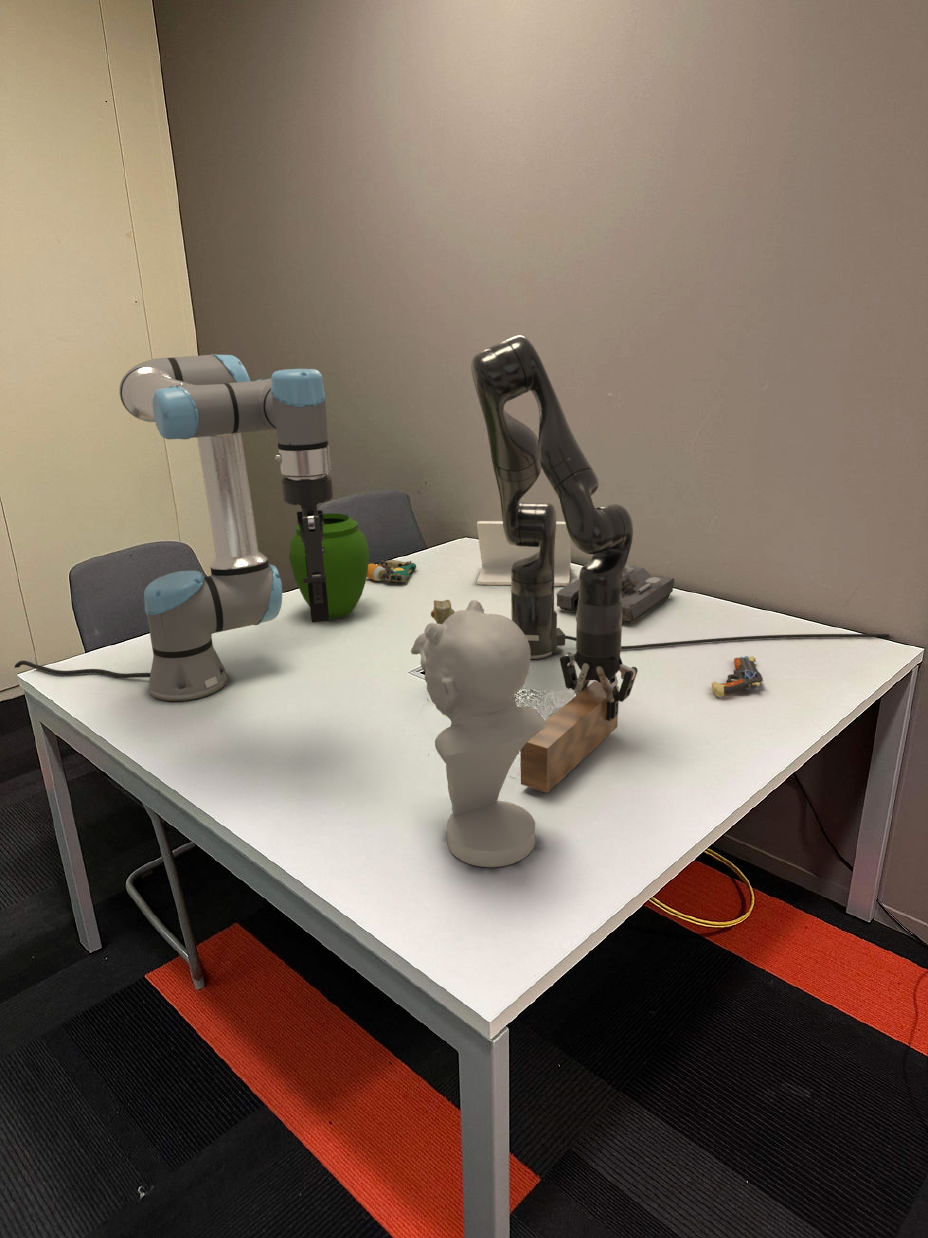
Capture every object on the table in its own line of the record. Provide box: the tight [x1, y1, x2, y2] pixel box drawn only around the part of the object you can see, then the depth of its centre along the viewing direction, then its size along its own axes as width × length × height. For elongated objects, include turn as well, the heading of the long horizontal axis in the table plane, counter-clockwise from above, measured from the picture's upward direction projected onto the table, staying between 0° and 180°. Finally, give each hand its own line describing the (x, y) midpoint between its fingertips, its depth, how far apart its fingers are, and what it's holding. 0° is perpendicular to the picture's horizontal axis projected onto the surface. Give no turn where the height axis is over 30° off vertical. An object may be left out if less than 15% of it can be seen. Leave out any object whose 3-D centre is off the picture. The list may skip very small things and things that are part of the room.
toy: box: [556, 562, 676, 624], centre depth 212 cm, size 25×20×15 cm
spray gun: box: [367, 559, 417, 583], centre depth 241 cm, size 4×17×15 cm
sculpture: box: [430, 599, 456, 624], centre depth 177 cm, size 6×7×15 cm
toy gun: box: [711, 655, 765, 698], centre depth 171 cm, size 3×19×10 cm
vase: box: [288, 512, 370, 620], centre depth 209 cm, size 20×20×24 cm
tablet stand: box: [476, 520, 572, 587], centre depth 236 cm, size 18×25×17 cm
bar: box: [520, 680, 620, 794], centre depth 142 cm, size 25×5×8 cm, turn 145°
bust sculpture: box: [410, 599, 546, 868], centre depth 121 cm, size 16×24×35 cm
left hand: (318, 606), depth 137 cm, fingers open, 13 cm apart
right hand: (596, 715), depth 149 cm, fingers closed on bar, 4 cm apart
